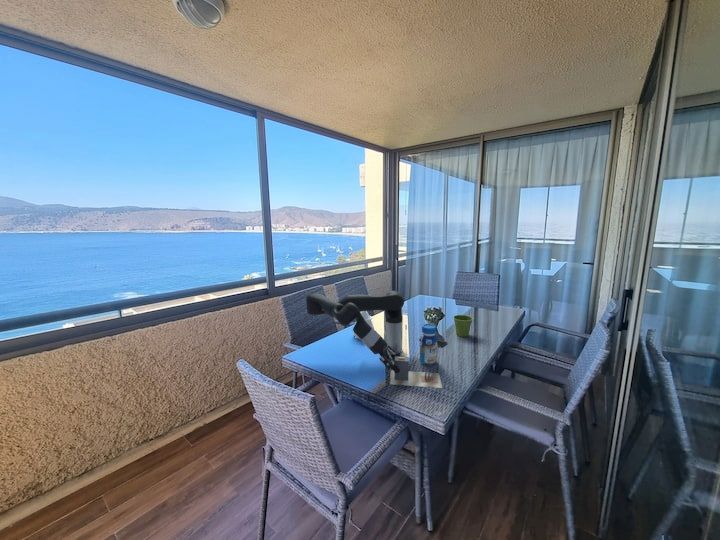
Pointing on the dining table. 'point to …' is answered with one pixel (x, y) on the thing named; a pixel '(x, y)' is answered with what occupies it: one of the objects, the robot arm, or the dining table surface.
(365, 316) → the honey pot
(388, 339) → the robot arm
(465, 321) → the plant pot
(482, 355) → the dining table surface
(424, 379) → the board
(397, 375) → the plug housing
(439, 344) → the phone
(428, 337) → the beverage bottle
